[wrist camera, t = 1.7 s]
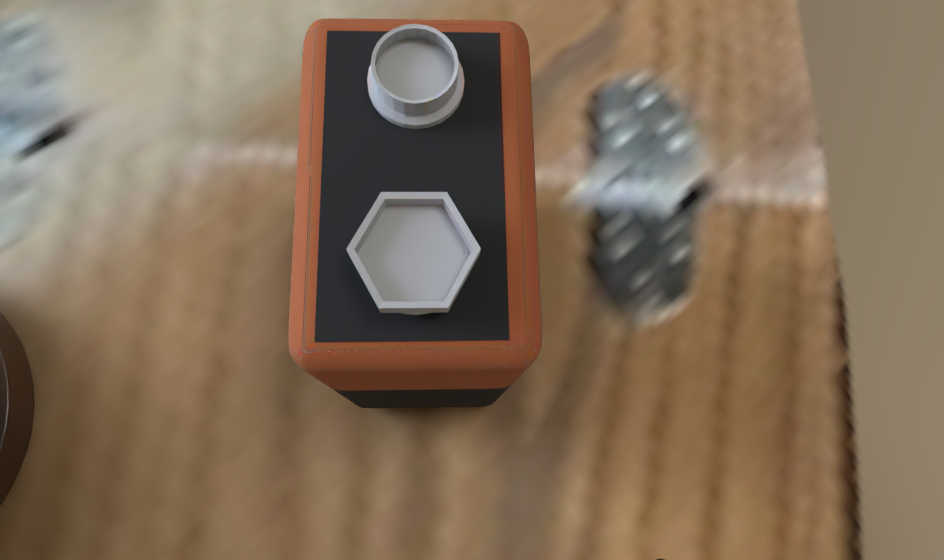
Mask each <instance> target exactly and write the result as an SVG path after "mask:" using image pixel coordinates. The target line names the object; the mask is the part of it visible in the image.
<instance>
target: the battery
mask: <svg viewBox="0 0 944 560" xmlns="http://www.w3.org/2000/svg"><path fill="white" fill-rule="evenodd" d="M541 342H542V324H541V299H540V276H539V253H538V231H537V208H536V185H535V162H534V140H533V117H532V94H531V72H530V55H529V46H528V41H527V38H526V35H525V33H524V31H523V30H522V28H521V27H520V26H519V25H517V24H516V23H513V22H509V21H485V20H408V19H320V20H317V21H315V22H314V23H313V24H312V25H311V26H310V27H309V29H308V31H307V33H306V36H305V39H304V45H303V57H302V73H301V93H300V113H299V133H298V152H297V172H296V192H295V212H294V232H293V252H292V272H291V292H290V312H289V350H290V354H291V356H292V358H293V360H294V361H295V362H296V364H297V365H298V366H299V367H300V368H302V369H303V370H304V371H306V372H307V373H309V374H310V375H312V376H313V377H315V378H316V379H318V380H319V381H321V382H322V383H324V384H326V385H327V386H329V387H330V388H332V389H333V390H335V391H336V392H338V393H339V394H341V395H342V396H344V397H345V398H347V399H348V400H350V401H352V402H353V403H355V404H356V405H358V406H360V407H363V408H394V407H463V406H488V405H491V404H492V403H494V402H495V401H496V400H497V399H498V398H499V397H500V396H501V395H502V394H503V393H504V392H505V391H506V390H507V389H508V388H509V387H510V386H511V385H512V383H513V382H514V381H515V380H516V379H517V378H518V377H519V376H520V375H521V374H522V373H523V372H524V371H525V370H526V369H527V368H528V367H529V366H530V365H531V364H532V363H533V362H534V360H535V359H536V358H537V356H538V354H539V352H540V349H541Z"/></svg>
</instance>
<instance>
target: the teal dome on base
mask: <svg viewBox="0 0 944 560" xmlns="http://www.w3.org/2000/svg"><path fill="white" fill-rule="evenodd" d="M33 409H34V400H33V383H32V378H31V372H30V367H29V364H28V361H27V358H26V355H25V352H24V349H23V347H22V345H21V343H20V341H19V339H18V337H17V335H16V333H15V331H14V330H13V329H12V327H11V326H10V324H9V323H8V322H7V320H6V319H5V318H4V316H3V315H2V314H1V313H0V503H1V502H2V500H3V499H4V497H5V496H6V494H7V493H8V491H9V489H10V487H11V485H12V483H13V481H14V479H15V477H16V475H17V473H18V471H19V469H20V466H21V463H22V461H23V458H24V455H25V452H26V450H27V446H28V441H29V437H30V433H31V428H32V419H33Z"/></svg>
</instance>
